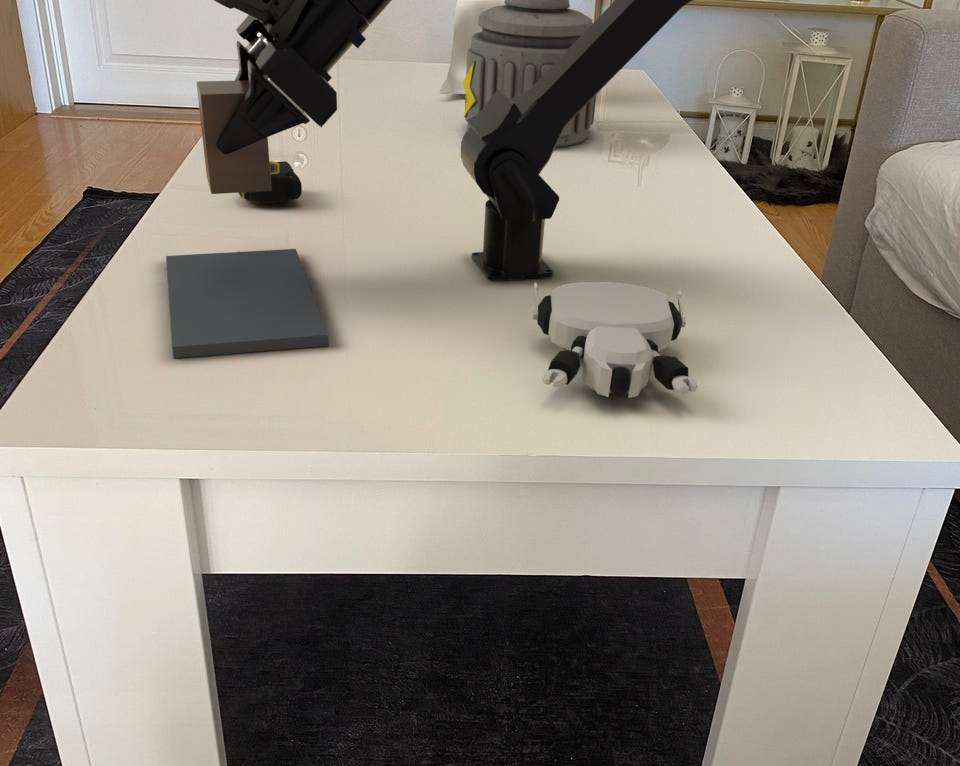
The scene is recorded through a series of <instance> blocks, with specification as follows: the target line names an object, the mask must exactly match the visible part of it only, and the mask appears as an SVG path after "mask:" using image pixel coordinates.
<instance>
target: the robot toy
mask: <svg viewBox="0 0 960 766" xmlns="http://www.w3.org/2000/svg"><path fill="white" fill-rule="evenodd" d="M676 299H677V303H678V308H677V307H676V305H675V303H674V302H672V301H669V300H668V297H667V295H666V294H665V293H663V292H661V291H658V290H656V289H653V288H651V287H647V286H641V285H635V284H630V283H623V282H622V283H621V282H613V281H581V282H572V283H571V282H570V283H564V284H562V285H560V286H558V287H555V288H553V289H552V290H551V293H550V294H549V295H545V296H543V298H542V300H540V302H539V304H538V283H537V282H536V281H535V282H534V283H533V311H532V320H534V321H535V320H536V322H537V323H536V324H537V325H538V326H539V329H541V331H542V333H543V335H546V336H549V339H550V342H551V343H553V344H554V345H555V346H557V347H560V348H562V349H564V350H560V351H559V352H558V353H556V355H555V356H554V357H553V358H552V359H551V360H550V363H549V366H548V367H547V368H548V369H547V370H545V372H544V373H543V375H542V382H543V384H545V385H548V386H550V385H551V384H552V387H555V388H559V389H561V388H562V387H564V386H565V385H569V384H571V382H572V381H573V380H574V379H575V377H576V376H577V375H578V373H579V371H580V368H581V360H583V361H582V368H581V378H582V380H583V381H584V382H585V384H586V385H587V386H588V387H589V390H591V391H593V392H595V393H596V394H597V395H600V396H603V397H607V398H609V395H611V394H612V395H613V396H615V397H624V396H626V395H628V398H627V399H630V398H631V399H632V398H634V397H638V396H639V395H640V393H641V391H642V390H643V389H644V388H646V387H647V386H648V384H649V381H650V376H651V371H652V367H653V375H654V379H655V380H656V381H657V382H659V383H660V384H661V385H662V386H663V387H664V388H665V389H666V390H669V391H674V392H676V393H677V394H679V395H683V394H684V395H686V394H689V392H690V393H694V392H696V390H697V389H698V384H697V381H696V379H695V378H694V377H691V376H689V367H688V366H687V365H686V364H684V363H683V361H681V360H680V359H679V358H678V357H677V356H672V355H663V354H662V355H660V353H659V352H661V351H664V350H665V349H667V348H668V346H669V344H670V343H671V342H674V341H675V340H677V339H678V337H679V335H680V333H681V331H682V328H685V327H686V323H687V320H686V317H685V316H684V311H683V303H682V291H681V290H680V289H678V290H677V291H676Z"/></svg>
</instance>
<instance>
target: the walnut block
mask: <svg viewBox="0 0 960 766" xmlns="http://www.w3.org/2000/svg"><path fill="white" fill-rule="evenodd" d="M248 90H249V80H244V81H235V80H208V81H207V80H205V81H203V80H201V81H200V80H199V81H196V91H197V102H198V111H199V118H200V119H199V120H200V127H201V128H200V129H201V136H202V137H201V139H202V146H203V155H204V165H205V172H206V173H205V174H206V179H207V183H208V186H209V190H210V194H211V195H216V194H217V195H221V194H223V195H224V194H239V193H242V192H261V191H271V190H272V189H271V176H270V163H269V161H270V152H269V151H270V149H269V140H268V139H269V137H267V138H264V139H262V140H259V141H257V142H255V143H252V144H250V145H248V146H245V147H243V148H241V149H238V150H236V151H234V152H232V153H229V154H224V153H223V152H221V151H220V150H219V149H218V148H217V146H216V143H217V141H218V139H219V138H220V136H221V134H222V133H223V131H224V129H225V127H226V126H227V124H228V123H229V121H230V119H231V118H232V116H233V114H234V113H235V111H236V110H237V108H238V106H239V105H240V103H241V101H242V100H243V98H244V97H245V95H246V93H247V92H248Z"/></svg>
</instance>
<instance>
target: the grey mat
mask: <svg viewBox="0 0 960 766" xmlns="http://www.w3.org/2000/svg"><path fill="white" fill-rule="evenodd" d="M165 260H166V261H165V262H166V275H167V291H168V304H169V320H170V332H171V333H170V334H171V335H170V336H171V348H172V349H171V350H172V356H173V359H182V358H194V357H206V356H208V357H209V356H220V355H232V354H243V353H244V354H245V353H257V352H266V351H267V352H269V351H281V350H293V349H305V348H318V347H319V348H320V347H330V346H329V345H330V342H329V341H330V340H329V333H328V331H327V328H326V325H325V322H324V320H323V317H322V314H321V312H320V309H319V306H318V304H317V301H316V298H315V296H314V293H313V290H312V288H311V286H310V283H309V280H308V278H307V275H306V272H305V269H304V267H303V264H302V261H301V258H300V257H299V254H298V251H297V249H296V248H287V249H284V248H283V249H270V250H268V249H267V250H266V249H265V250H250V251H249V250H248V251H232V252H231V251H230V252H213V253H212V252H211V253H196V254H195V253H193V254H177V255H176V254H175V255H174V254H173V255H166V256H165Z"/></svg>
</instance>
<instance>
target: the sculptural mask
mask: <svg viewBox="0 0 960 766" xmlns="http://www.w3.org/2000/svg"><path fill="white" fill-rule="evenodd" d="M504 2H505V0H457V1H456V4H455V5H456V6H455V12H454V25H453V36H452V37H453V38H452V48H451V56H450V63H449V67H448V71H447V75H446V79H445V80H444V81H443V83H442V84H441V86H440V89H439V93H438V94H439V95H466V93H465V89H464V85H463V81H464V79H465V77H466V68H467V51H468V49H471V38H472V37H473V35H474V34H475V33H478V32H482V28H481V27H480V26H479V25H478V22H479V16H480V14H481V12H483V11H485V10H487V9H489V8H491V7H495V6H501V5H506V4H505V3H504Z"/></svg>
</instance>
